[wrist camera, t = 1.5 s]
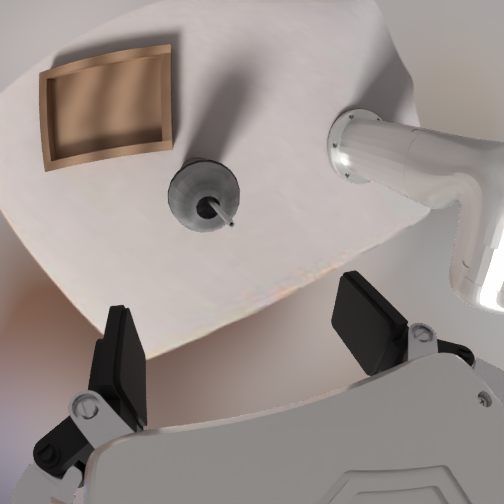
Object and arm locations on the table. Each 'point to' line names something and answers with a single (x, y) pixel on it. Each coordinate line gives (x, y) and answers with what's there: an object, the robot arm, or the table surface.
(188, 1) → the table surface
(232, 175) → the beverage cup
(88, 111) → the walnut tray
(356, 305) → the robot arm
